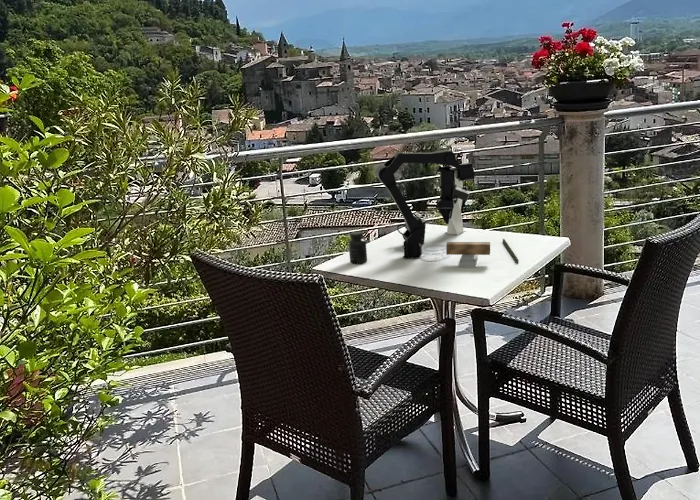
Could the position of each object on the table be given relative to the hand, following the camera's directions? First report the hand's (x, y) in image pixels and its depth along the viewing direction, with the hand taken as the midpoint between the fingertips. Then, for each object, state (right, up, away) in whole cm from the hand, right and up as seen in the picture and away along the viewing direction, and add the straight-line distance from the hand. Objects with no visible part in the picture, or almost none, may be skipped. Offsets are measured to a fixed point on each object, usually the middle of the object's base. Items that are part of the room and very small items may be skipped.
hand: (448, 221), depth 269 cm
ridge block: (+6, -17, -13) cm, 22 cm away
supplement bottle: (-36, -17, -2) cm, 39 cm away
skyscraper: (+8, -4, +33) cm, 35 cm away
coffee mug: (-12, -9, +21) cm, 26 cm away
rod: (+24, -13, -1) cm, 27 cm away
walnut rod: (+5, -13, -14) cm, 20 cm away
